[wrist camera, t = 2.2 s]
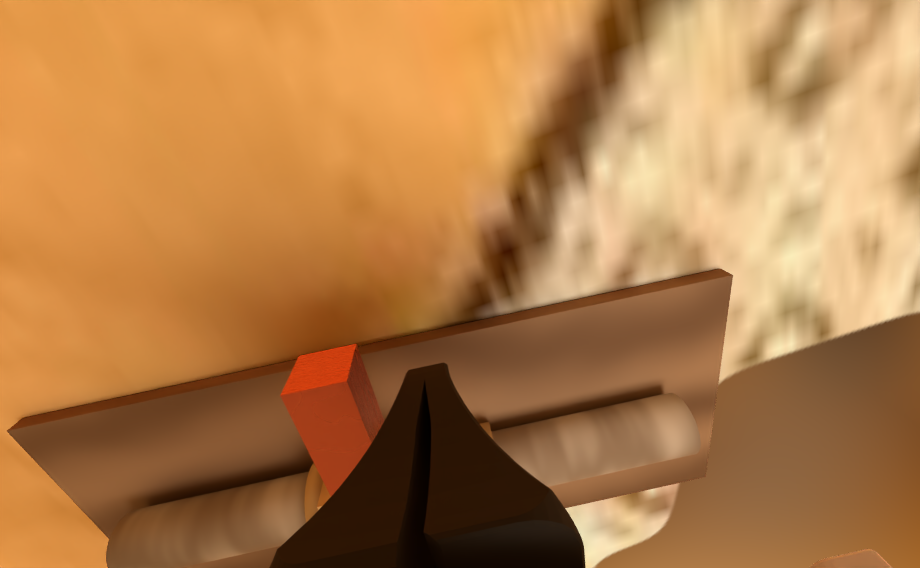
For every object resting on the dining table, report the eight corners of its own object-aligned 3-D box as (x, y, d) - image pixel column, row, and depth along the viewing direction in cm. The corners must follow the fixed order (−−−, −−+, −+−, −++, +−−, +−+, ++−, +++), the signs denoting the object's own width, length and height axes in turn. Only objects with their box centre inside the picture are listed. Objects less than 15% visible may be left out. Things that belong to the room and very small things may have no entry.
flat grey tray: (697, 466, 25) (756, 542, 20) (171, 582, 24) (118, 686, 20) (720, 268, 19) (812, 317, 14) (22, 418, 18) (-101, 515, 14)
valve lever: (433, 546, 17) (435, 605, 15) (393, 555, 17) (390, 615, 15) (358, 335, 12) (346, 381, 10) (302, 347, 12) (279, 395, 10)
